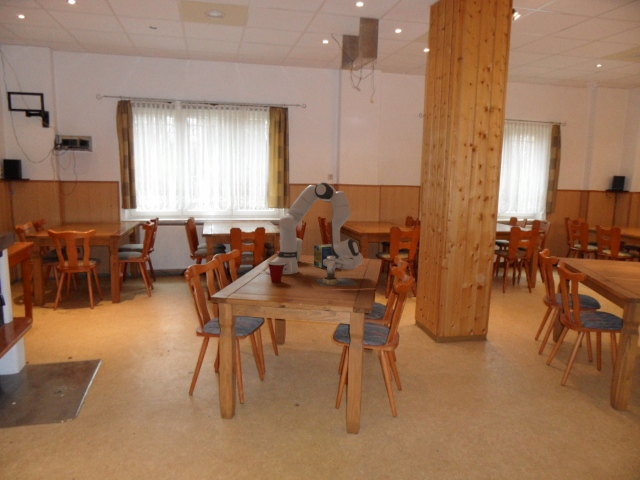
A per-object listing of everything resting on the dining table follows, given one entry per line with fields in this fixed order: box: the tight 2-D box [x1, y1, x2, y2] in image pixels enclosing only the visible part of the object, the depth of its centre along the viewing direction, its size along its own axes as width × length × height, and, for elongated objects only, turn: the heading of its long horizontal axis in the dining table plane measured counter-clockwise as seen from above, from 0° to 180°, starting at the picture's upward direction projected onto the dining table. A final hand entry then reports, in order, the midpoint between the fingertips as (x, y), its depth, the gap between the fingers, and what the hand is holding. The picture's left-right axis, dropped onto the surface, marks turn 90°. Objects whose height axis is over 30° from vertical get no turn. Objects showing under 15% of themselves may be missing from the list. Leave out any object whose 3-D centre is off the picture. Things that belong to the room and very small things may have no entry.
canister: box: [278, 237, 304, 263], centre depth 343 cm, size 18×18×21 cm
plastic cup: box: [267, 261, 285, 284], centre depth 277 cm, size 11×11×12 cm
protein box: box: [313, 243, 338, 269], centre depth 328 cm, size 10×15×16 cm
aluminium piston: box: [326, 256, 336, 277], centre depth 271 cm, size 5×5×12 cm
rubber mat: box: [315, 278, 359, 287], centre depth 276 cm, size 23×17×1 cm
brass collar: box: [321, 276, 339, 286], centre depth 272 cm, size 10×10×3 cm
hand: (330, 265), depth 270 cm, fingers closed on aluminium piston, 5 cm apart
